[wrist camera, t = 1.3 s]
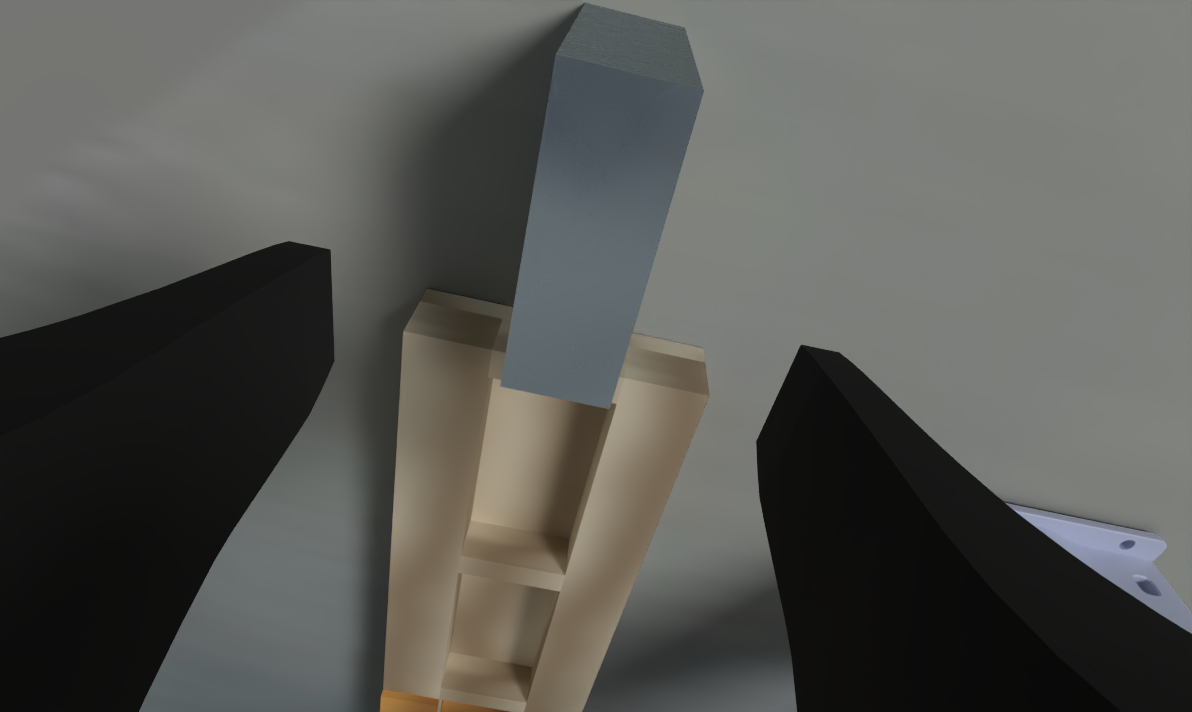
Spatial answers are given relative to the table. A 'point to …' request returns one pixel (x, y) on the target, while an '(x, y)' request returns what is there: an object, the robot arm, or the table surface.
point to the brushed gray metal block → (599, 201)
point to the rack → (520, 514)
